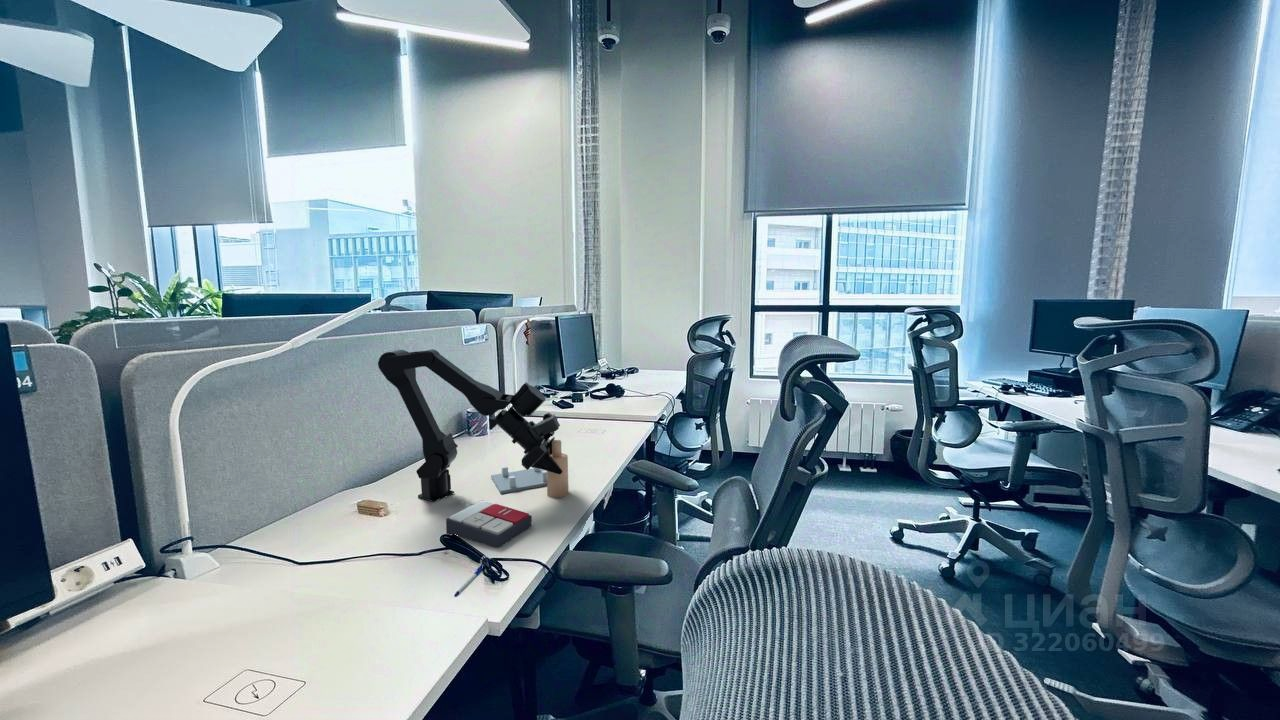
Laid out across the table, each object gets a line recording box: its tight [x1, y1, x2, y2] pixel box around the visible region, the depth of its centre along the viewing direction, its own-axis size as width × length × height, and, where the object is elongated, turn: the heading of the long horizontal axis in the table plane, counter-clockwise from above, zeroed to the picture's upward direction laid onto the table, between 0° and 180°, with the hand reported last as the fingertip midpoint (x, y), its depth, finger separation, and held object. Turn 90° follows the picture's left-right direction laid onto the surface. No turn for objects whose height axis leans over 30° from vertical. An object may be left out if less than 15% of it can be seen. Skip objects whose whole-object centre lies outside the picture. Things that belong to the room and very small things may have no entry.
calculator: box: [445, 500, 533, 549], centre depth 109 cm, size 11×4×15 cm
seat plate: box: [490, 465, 547, 495], centre depth 139 cm, size 16×13×3 cm
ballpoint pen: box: [453, 564, 483, 597], centre depth 90 cm, size 10×1×1 cm, turn 170°
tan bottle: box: [546, 439, 570, 499], centre depth 129 cm, size 6×6×14 cm
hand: (562, 469), depth 129 cm, fingers closed on tan bottle, 5 cm apart
